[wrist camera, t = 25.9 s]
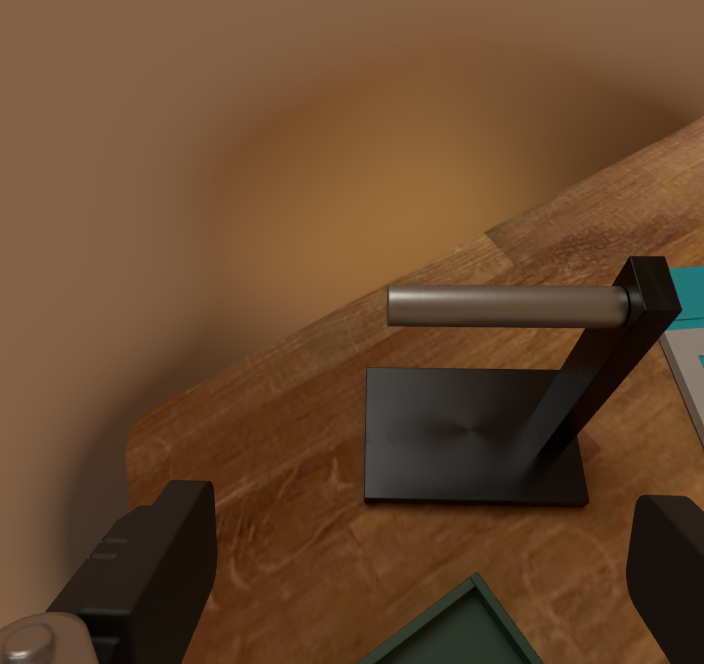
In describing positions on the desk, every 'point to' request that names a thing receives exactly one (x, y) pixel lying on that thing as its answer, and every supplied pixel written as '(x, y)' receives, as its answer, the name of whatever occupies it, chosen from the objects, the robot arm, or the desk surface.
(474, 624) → the tray
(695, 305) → the square teal disk
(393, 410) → the hook stand
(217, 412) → the desk surface
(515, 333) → the desk surface
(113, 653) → the robot arm
